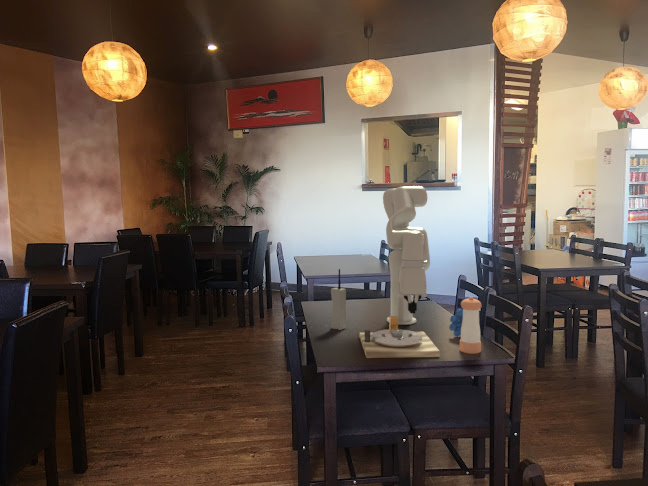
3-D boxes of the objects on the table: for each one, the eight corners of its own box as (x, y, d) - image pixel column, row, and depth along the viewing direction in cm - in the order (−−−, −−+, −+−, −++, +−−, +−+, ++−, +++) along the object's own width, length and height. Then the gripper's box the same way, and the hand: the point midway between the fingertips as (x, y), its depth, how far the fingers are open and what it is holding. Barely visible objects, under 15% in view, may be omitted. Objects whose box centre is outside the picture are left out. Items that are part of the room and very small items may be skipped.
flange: (369, 333, 193) (369, 316, 192) (416, 332, 193) (416, 315, 193) (375, 347, 175) (375, 329, 174) (427, 346, 175) (427, 328, 174)
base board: (359, 337, 196) (359, 322, 196) (423, 336, 197) (423, 321, 196) (366, 357, 171) (366, 340, 171) (439, 356, 172) (439, 339, 171)
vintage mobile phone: (336, 326, 212) (336, 267, 210) (346, 328, 209) (345, 268, 207) (331, 328, 209) (330, 268, 207) (340, 330, 206) (340, 269, 204)
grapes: (475, 333, 200) (476, 303, 199) (481, 338, 193) (481, 307, 192) (446, 334, 200) (446, 304, 199) (450, 338, 193) (451, 308, 192)
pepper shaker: (466, 354, 174) (467, 299, 172) (455, 348, 181) (456, 295, 179) (485, 352, 176) (486, 298, 174) (473, 346, 183) (474, 294, 181)
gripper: (430, 263, 193) (429, 310, 194) (391, 263, 193) (391, 311, 194) (434, 265, 186) (434, 314, 187) (394, 265, 185) (394, 315, 186)
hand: (412, 312), depth 190 cm, fingers closed
